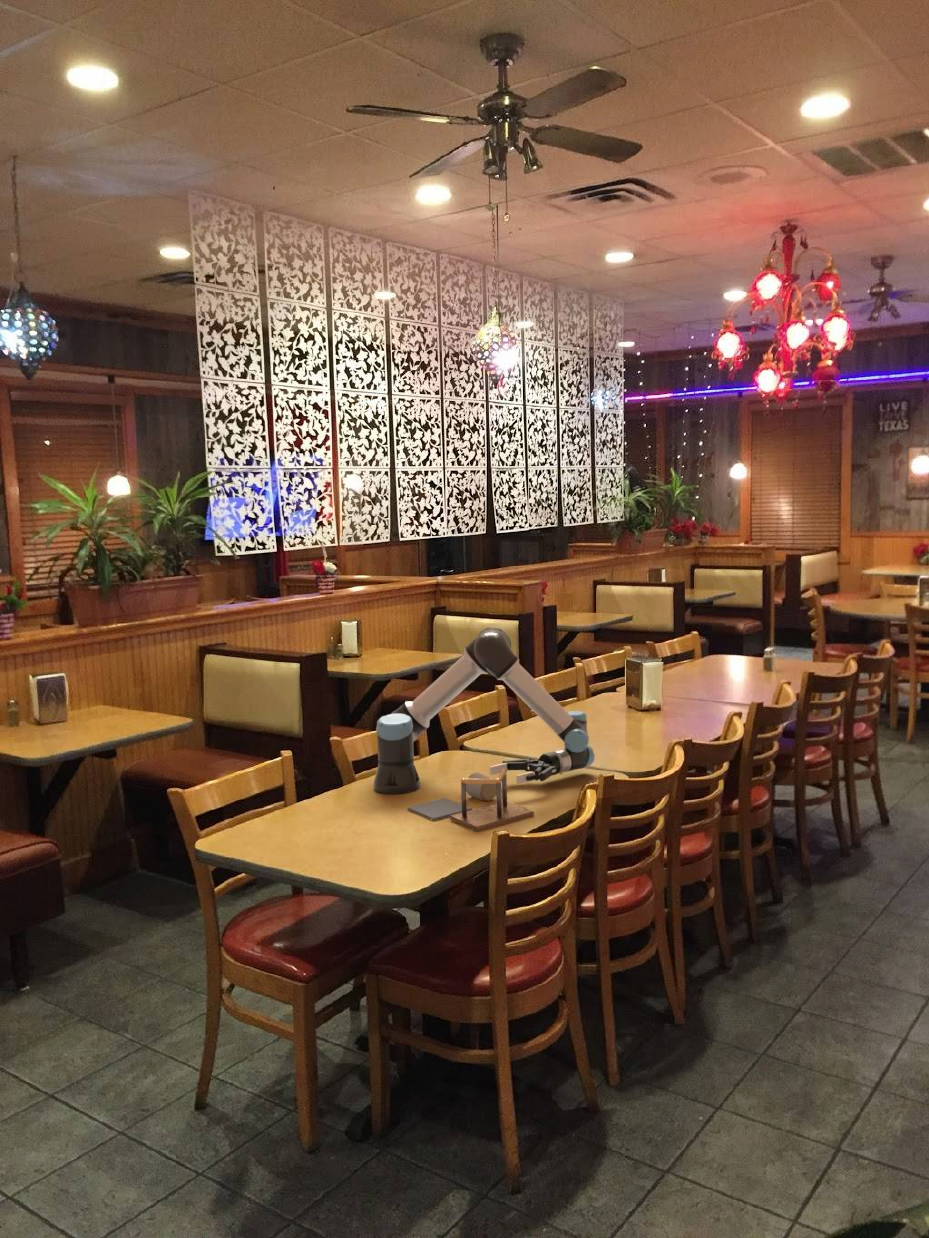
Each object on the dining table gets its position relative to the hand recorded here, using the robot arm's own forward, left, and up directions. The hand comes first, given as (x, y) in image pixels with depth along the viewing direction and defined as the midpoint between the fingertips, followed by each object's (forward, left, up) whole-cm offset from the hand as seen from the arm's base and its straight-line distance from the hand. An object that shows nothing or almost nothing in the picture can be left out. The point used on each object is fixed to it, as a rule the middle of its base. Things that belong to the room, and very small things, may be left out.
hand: (503, 775), depth 315 cm
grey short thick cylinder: (0, -7, -6) cm, 10 cm away
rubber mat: (+1, -25, -6) cm, 26 cm away
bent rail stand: (+17, -18, -6) cm, 26 cm away
